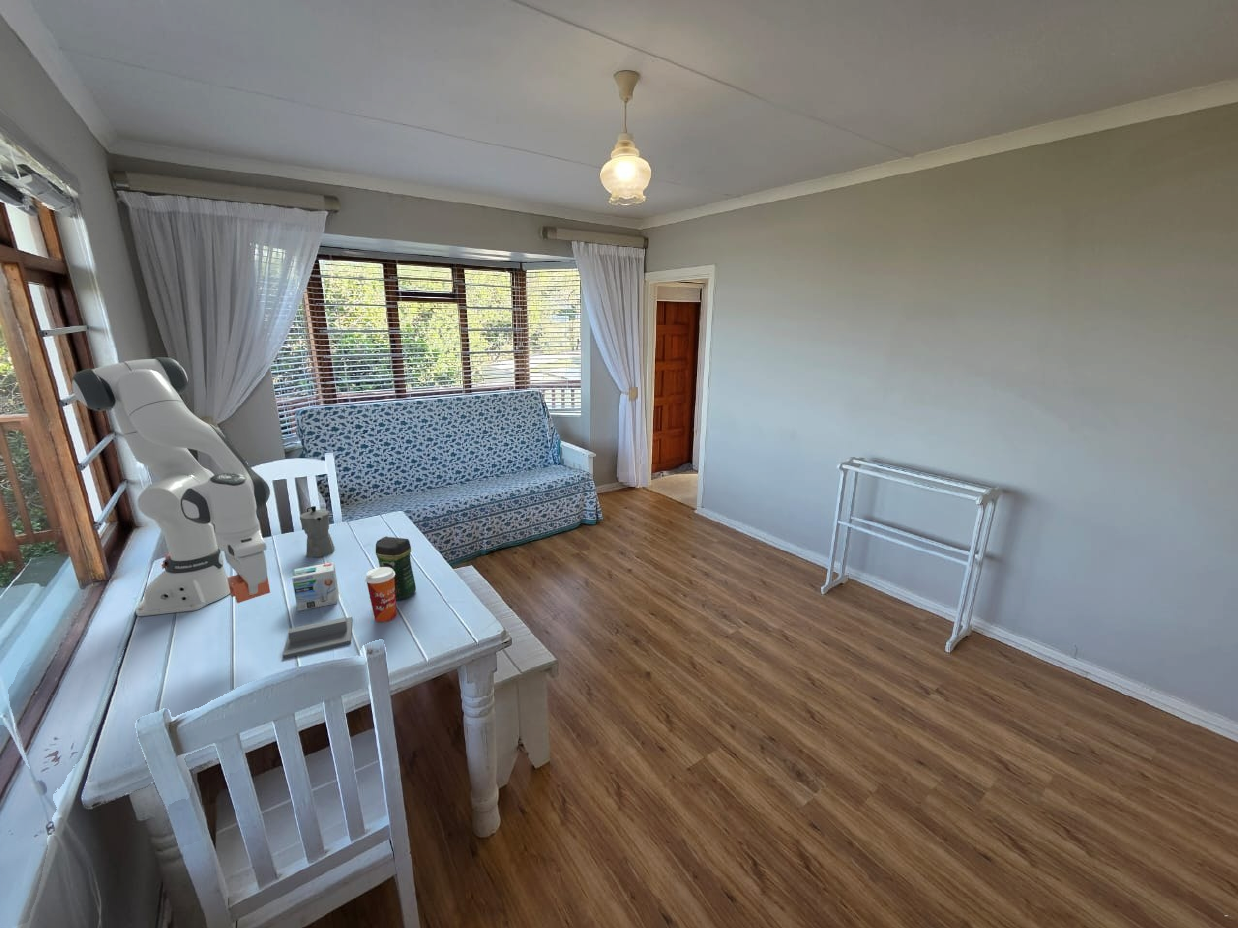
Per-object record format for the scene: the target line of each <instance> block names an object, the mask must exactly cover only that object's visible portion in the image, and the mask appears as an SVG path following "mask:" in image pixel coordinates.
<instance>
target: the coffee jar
mask: <svg viewBox="0 0 1238 928" xmlns="http://www.w3.org/2000/svg"><path fill="white" fill-rule="evenodd" d="M411 552H412V546H411V541H410V539H409V538H402V537H392V536H387V535H386V536H384V537H382V538H380V539H379V540H378V539H377V541H376V544H375V555H376V557H377V559H378V565H379V567H389V568H392V569H393V571H394V572H395V576H394V582H395V599H396V600H400V601H401V600H405V599H407V598H410V597H411V596H412V595H413V594H414V593H415V592H416V590H417V587H416V582H415V576H414V572H413V568H412V561H411Z"/></svg>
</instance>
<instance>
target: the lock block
mask: <svg viewBox="0 0 1238 928" xmlns="http://www.w3.org/2000/svg"><path fill="white" fill-rule="evenodd" d="M227 579H228V584H229V589H230V594H229V595H230V597H231V598H235V602H236V603H237V604H240V603H243V602H246V601H249V600H252V599H256V598H258V597H261V596H264V595H267V594H270V593H271V590H270V583H269V578H268V576H267V579H266V581H265V582H262V583H259V584H258V593H256V594H252V595H251V594H250V593H249V592H248V588H247V587H248V583H247V582H246V581H245V580H244V579H243V578H242V577H241V576H240V575H237V574H236V575H233V576H230V577H229V576H228V578H227Z"/></svg>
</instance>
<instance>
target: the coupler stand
mask: <svg viewBox="0 0 1238 928" xmlns="http://www.w3.org/2000/svg"><path fill="white" fill-rule="evenodd" d="M353 622H354V619H353V616H350V617H340V618H335V619H330V620H326V621H325V620H324V621H320V622H316V623H312V624H307V625H302V626H296V627H291V628H289V629H288V633H287V639H286V642H285V646H284V649H283V653H282V659H283V660H285V659H289V658H293V657H297V656H301V655H307V654H310V653H317V652H320V651H323V650H329V649H332V648H337V647H342V646H345V645H351V644H352V634H353V633H352V632H353Z"/></svg>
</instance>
